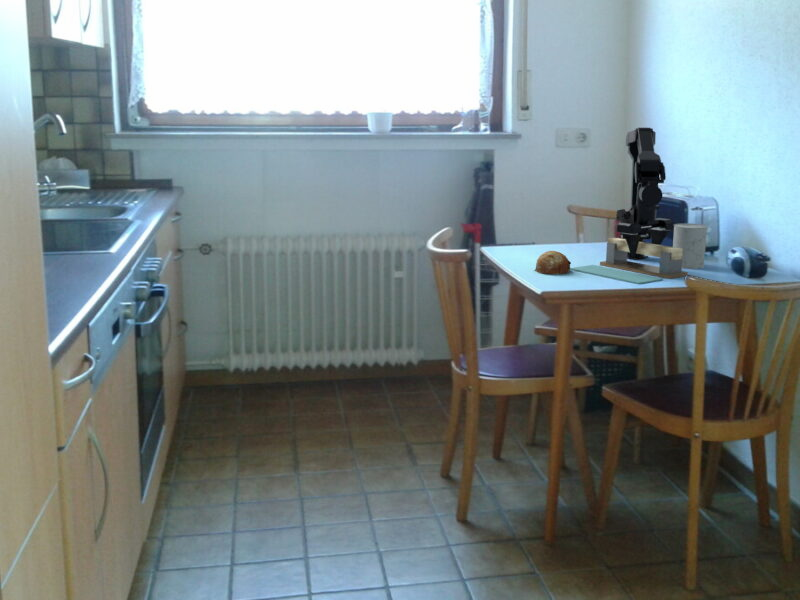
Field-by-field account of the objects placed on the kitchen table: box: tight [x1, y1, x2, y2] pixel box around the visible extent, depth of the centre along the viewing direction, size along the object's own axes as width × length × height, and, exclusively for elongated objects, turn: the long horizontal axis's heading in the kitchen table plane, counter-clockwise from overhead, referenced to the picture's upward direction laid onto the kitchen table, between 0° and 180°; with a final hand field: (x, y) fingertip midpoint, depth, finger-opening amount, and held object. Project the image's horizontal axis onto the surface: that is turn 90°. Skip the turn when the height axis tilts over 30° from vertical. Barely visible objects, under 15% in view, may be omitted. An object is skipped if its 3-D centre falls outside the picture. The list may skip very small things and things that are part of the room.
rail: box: [607, 237, 683, 260], centre depth 259 cm, size 25×3×3 cm, turn 35°
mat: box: [570, 264, 664, 285], centre depth 254 cm, size 10×26×1 cm, turn 35°
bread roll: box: [534, 250, 572, 275], centre depth 258 cm, size 10×10×8 cm
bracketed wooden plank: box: [599, 241, 689, 280], centre depth 260 cm, size 26×8×7 cm, turn 35°
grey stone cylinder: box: [672, 222, 708, 270], centre depth 266 cm, size 10×10×12 cm
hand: (643, 255), depth 259 cm, fingers open, 9 cm apart
